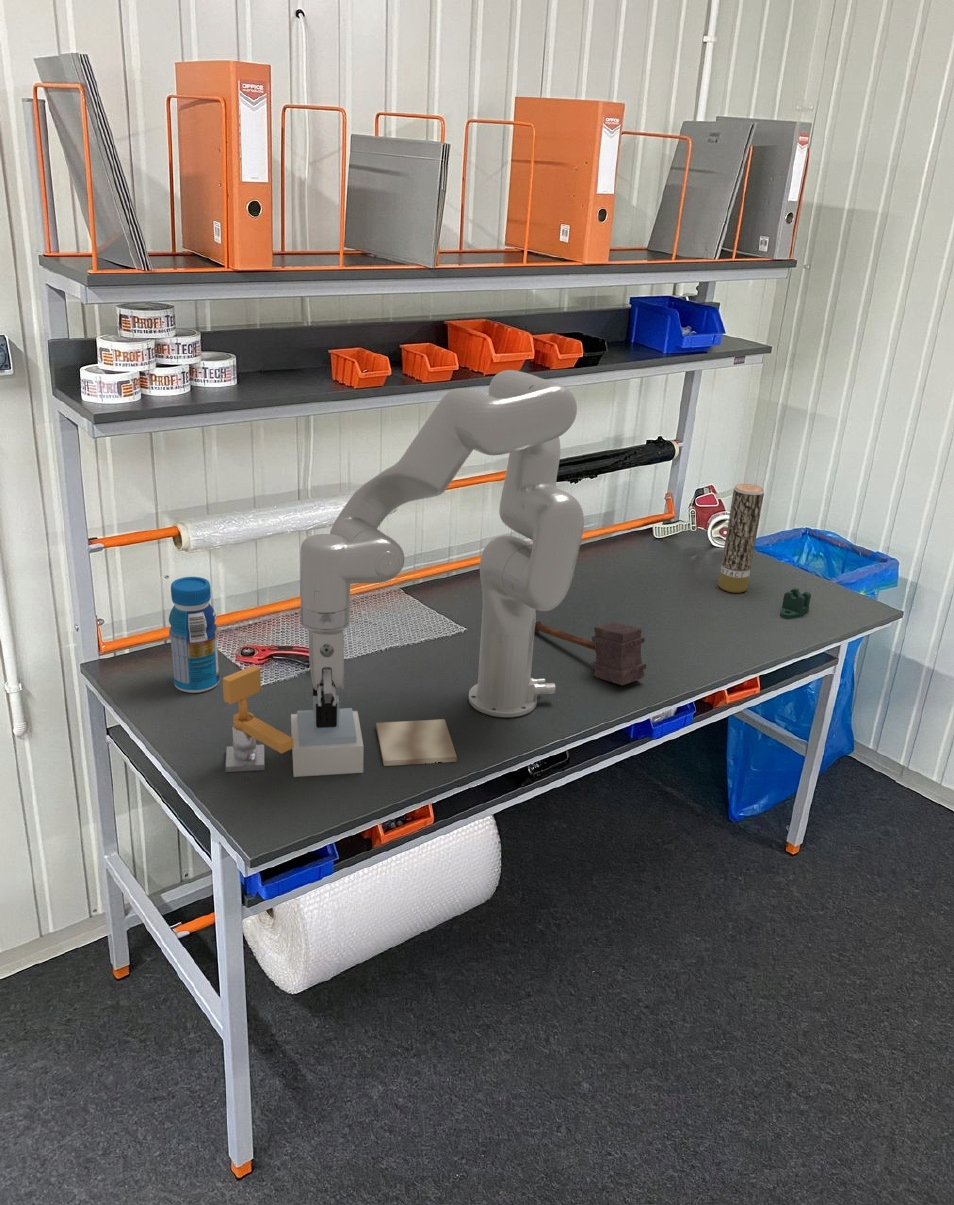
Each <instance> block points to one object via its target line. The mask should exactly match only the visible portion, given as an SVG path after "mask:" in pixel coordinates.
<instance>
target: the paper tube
mask: <svg viewBox="0 0 954 1205" xmlns="http://www.w3.org/2000/svg"><path fill="white" fill-rule="evenodd" d="M764 496H765V489H764V488H763V487H762V486H759V485H757V484H756V485H755V484H751V483H738V484H737V483H736V484H735V485H734V487H733V492H732V498H731V506H730V510H729V515H728V516H729V517H728V523H727V529H726V535H725V541H724V548H723V552H722V559H721V565H720V572H719V576H718V577H719V579H718V588H720V589H721V590H723V591H725V592H728V593H732V594H733V593H734V594H740V593H743V592H745V591H746V590H747V589H748V585H749V579H750V574H751V569H752V563H753V557H754V551H755V547H756V540H757V535H758V529H759V525H760V518H761V513H762V509H763V508H762V507H763V502H764Z"/></svg>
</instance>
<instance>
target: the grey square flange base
mask: <svg viewBox="0 0 954 1205" xmlns="http://www.w3.org/2000/svg"><path fill="white" fill-rule="evenodd" d="M231 727H232V729H231V730H232V746H226V750H225V751H226V754H225V773H233V772H235V773H237V772H251V771H252V772H254V771H264V770H265V744H257V739H255V738H254V737H252V736H250V735H249V734H247V733H245V732H243V731H239V730H236V729H235V728H234V724H232V726H231Z"/></svg>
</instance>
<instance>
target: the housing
mask: <svg viewBox="0 0 954 1205" xmlns="http://www.w3.org/2000/svg"><path fill="white" fill-rule="evenodd" d="M352 711H353V718H354V724H355V730H356V736H357V743H347V744H329V745H311V746H299V735H298V720H297V713H291V714H290V723H291V725H290V726H291V727H290V730H291V731H290V732H291V736H290V737H291V738H293V739H294V748H292V749H291V751H292V752H291V754H292V769H293V771H292V772H293V774H292V775H293V778H298V777H312V776H313V777H314V776H330V775H345V774H346V775H347V774H360V773H361V774H363V773H364V743H363V742H364V741H363V737H362V735H363V734H362V730H361V724H360V718H359V712H358V710H352Z"/></svg>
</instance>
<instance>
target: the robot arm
mask: <svg viewBox="0 0 954 1205" xmlns="http://www.w3.org/2000/svg"><path fill="white" fill-rule="evenodd" d="M577 412H578V406H577V400H576V397H575V396H574V394H573V392H572V391H571V390H570V389H569V388H567V387H566V386H564V385H563V384H560V383H557V382H554V381H551V380H548V379H546V378H545V379H544V378H542V377H540V376H537V375H534V374H530V373H527V372H525V371H524V372H523V371H520V370H514V369H506V370H502V371H500V372H498V373H496V374H495V375H494V376H493V377H492V379H491V380H490V383H489V387H488V394H486V393H483V392H480V391H477V390H474V389H470V388H466V387H465V388H464V387H462V388H461V387H460V388H454V389H452V390H450V391H448V392H447V393H445V395H443V397H442V398H441V399H440V401H439V403H438V404H437V405H436V407H434V409H433V411H432V412H431V413H430V415H429V417H428V418H427V420H426V421H425V422H424V424H423V426H421V429H419V431H418V433H417V434H416V436H415V437H414V438H413V440H412V441H411V443H410V445H409V446H408V448H407V449H406V450H405V452H404V454H403V455H402V456H401V458H399V460H398V461H397V462H396V463H394V465H392V466H390V467H388V468H386V469H385V470H383V471H381V472H380V473H378V474H377V475H375V476H374V477H373V478H371V479H369V480H368V481H367V482H365V483H364V484H363V485H361V486H360V487H359V489H358V488H357V490H356V491H355V492H354V493H353V494H352V496H350V498H349V500H348V501H347V502H346V504H345V506H344V507H343V508H342V510H341V512H340V513H339V514H338V516H337V517H336V519H335V520H334V522H333V524H332V527H331V529H330V532H329V533H318V534H313V535H310V536H307V537H306V538H305V539H304V540H303V541H302V542H301V545H300V552H299V554H300V555H299V556H300V561H299V562H300V568H299V569H300V571H299V573H300V580H299V581H300V625H301V627H302V628H304V629H305V630H307V631H308V659H309V669H310V676H311V682H312V696H318V704H316V727H317V728H328V727H336V726H337V703H336V695H337V693H336V689H337V690H343V689H344V688H345V667H344V666H345V640H344V630H345V629H347V628H348V627H350V619H351V618H350V616H351V615H350V614H351V585H353V584H380V583H386V582H389V581H391V580H393V579H394V578H396V577H397V576H398V575H399V574H400V573H401V572H402V570H403V568H404V565H405V553H404V551H403V548H402V547H401V545H400V544H399V543H398V542H397V541H396V540H394V539H393V538H392V537H390V536H389V535H387V534H385V533H384V532H383V531H381V530H379V529H378V528H379V527H380V526H381V524H382V522H383V521H384V520H385V519H386V518H387V517H388V516H389V515H390V514H391V513H392V512H393V511H394V510H395V509H397V508H399V507H401V506H402V505H404V504H407V503H409V502H410V503H411V502H414V501H418V500H424V499H429V498H434V497H437V496H441V495H442V494H444V493H445V491H447V489H448V487H449V486H450V485H451V483H452V481H453V480H454V478H455V477H456V475H457V474H458V472H459V471H460V470H461V468H462V466H463V465H464V463H465V462H466V461H467V459H468V458H469V457H470V455H471V454H472V452H473V451H476V452H479V453H481V454H483V455H487V456H502V455H507V454H509V455H508V461H507V466H506V472H505V476H504V482H503V486H502V490H501V498H500V501H499V502H500V503H499V509H498V510H499V512H498V513H499V518H500V520H501V521H502V523H503V525H505V526H506V527H508V528H509V529H510V530H512V531H514V532H516V533H518V534H520V535H521V536H523V537H525V538H527V539H529V540H531V541H532V543H531V542H529V541H526V540H524V539H522V538H520V537H517V536H512V535H500V536H498V537H495V538H493V539H492V540H490V541H489V542H488V543H487V544H486V546H485V547H484V549H483V550H482V553H481V556H480V560H479V577H480V585H481V590H482V591H481V592H482V594H481V595H482V614H481V615H482V616H481V626H480V627H481V628H480V644H479V658H478V660H479V661H478V673H477V678H478V679H477V683H476V684H475V685H473V686H472V687H471V688H470V689H469V690H468V703H469V704H470V705H471V707H473V708H474V709H475V710H476V711H478V712H480V713H482V714H484V715H488V716H492V717H496V718H516V717H517V718H518V717H521V716H525V715H527V714H529V713H531V712H532V711H533V710H535V708H536V707H537V704H538V703H537V702H538V696H539V695H540V694H545V695H547V694H549V695H550V694H552V695H553V694H555V693H556V684H555V683H554V682H546V678H533V677H531V675H532V665H533V663H532V662H533V652H534V643H535V642H534V640H535V632H536V631H535V622H536V619H537V617H536V615H537V612H536V611H539V612H548V611H551V610H554V609H555V608H557V607H558V606H560V605H561V604H562V603H563V601H564V600H565V598H566V597H567V594H568V593H569V590H570V587H571V584H572V581H573V577H574V573H575V568H576V564H577V560H578V556H579V551H580V547H581V542H582V538H583V532H584V526H585V517H584V512H583V511H584V510H583V507H582V505H581V504H580V501H578V499H576V498H575V497H574V496H573V495H572V494H571V493H568V492H567V491H564V490H562V489H560V488H558V487H557V479H558V478H557V477H558V473H559V472H558V471H559V466H560V459H561V440H560V437H561V436H563V435H564V434H565V433H567V432H568V430H569V429H570V428H572V425H573V424H574V423H575V420H576V417H577ZM321 696H322V697H321Z"/></svg>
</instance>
